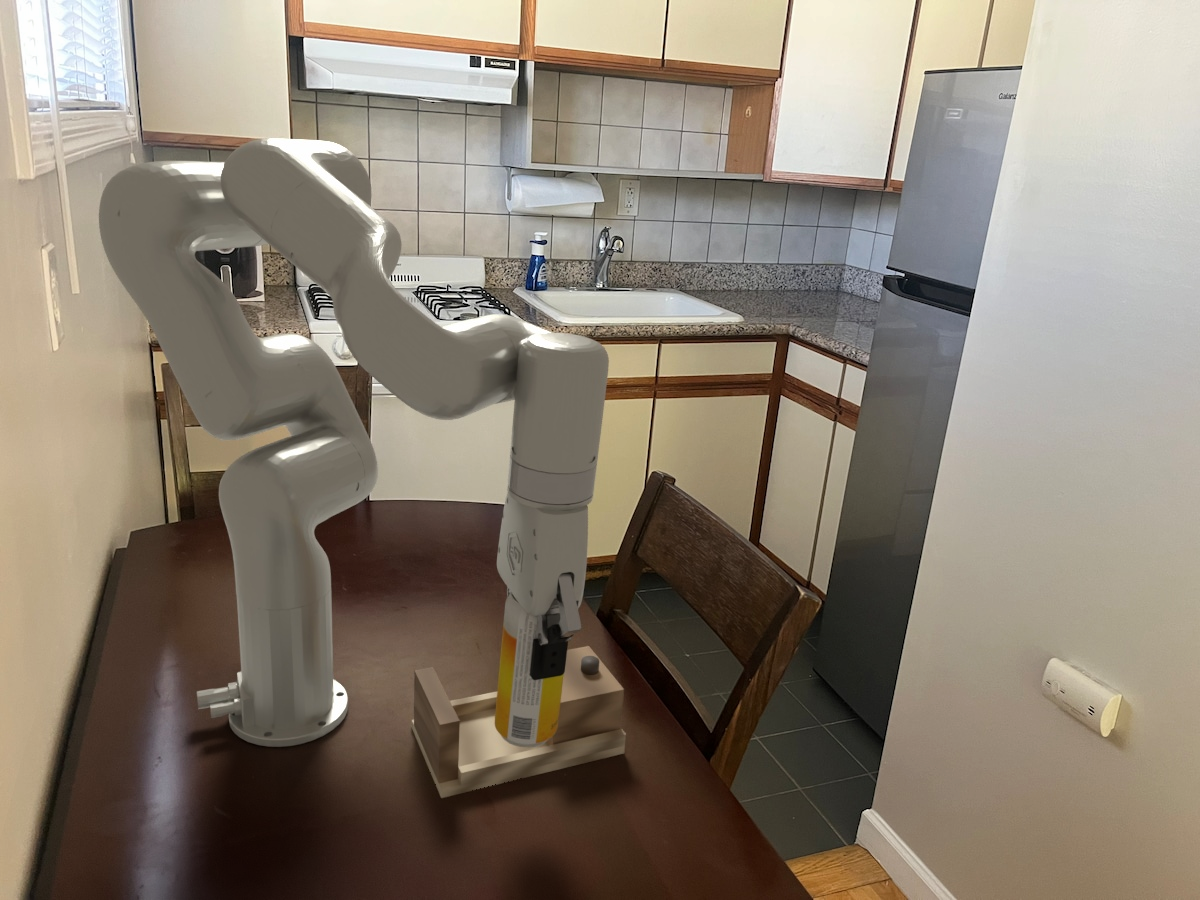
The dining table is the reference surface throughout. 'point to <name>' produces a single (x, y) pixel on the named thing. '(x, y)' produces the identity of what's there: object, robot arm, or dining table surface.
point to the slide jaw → (587, 698)
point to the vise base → (487, 741)
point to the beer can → (524, 683)
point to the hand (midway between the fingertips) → (533, 654)
